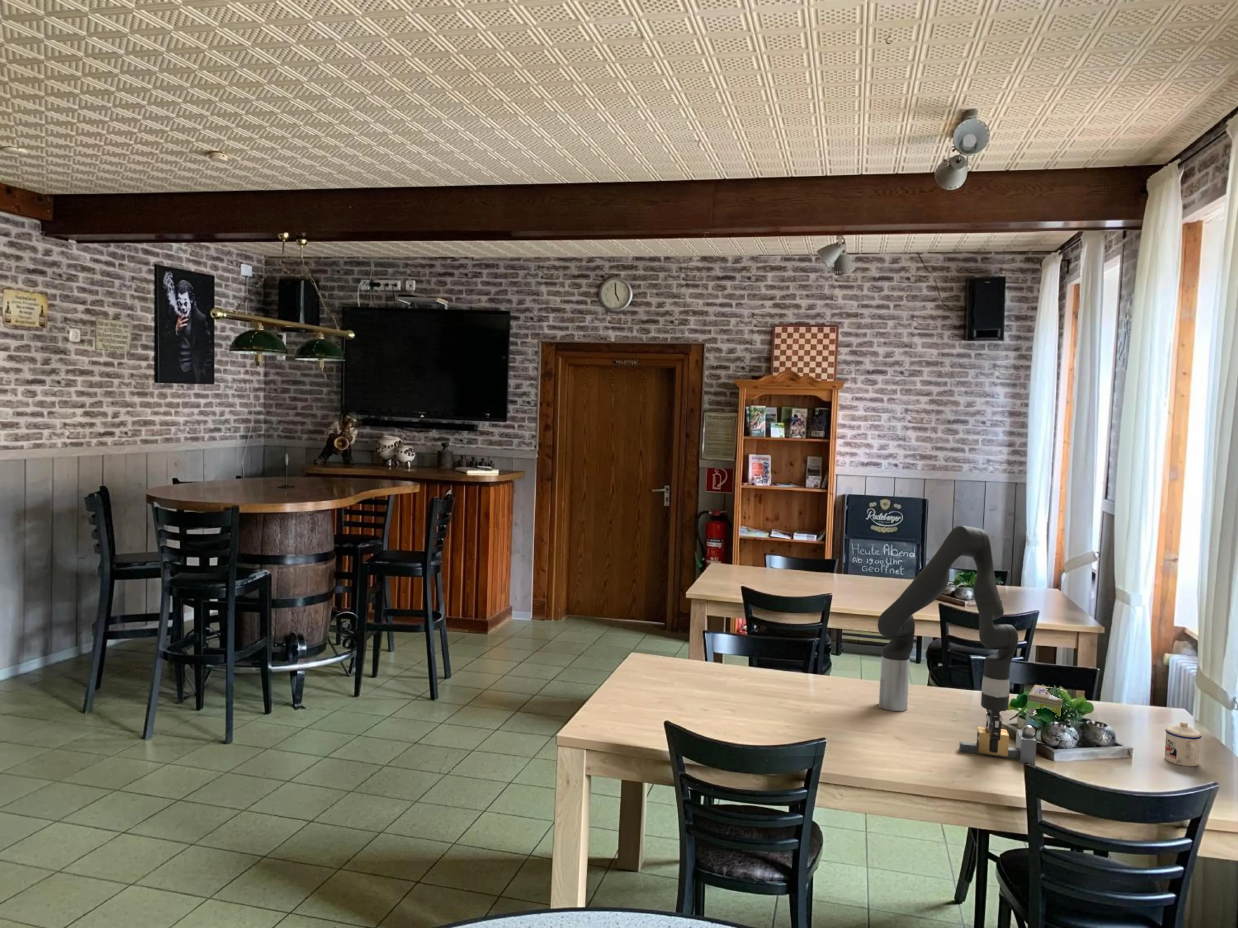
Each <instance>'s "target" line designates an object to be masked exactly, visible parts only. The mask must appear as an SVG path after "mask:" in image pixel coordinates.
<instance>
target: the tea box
mask: <svg viewBox="0 0 1238 928" xmlns="http://www.w3.org/2000/svg"><path fill="white" fill-rule="evenodd" d="M1046 688H1052V687H1050V686H1044V685H1040V684H1034V685H1033V687H1032V688H1031V690H1030V691H1029V692H1028V694H1027V703H1026V713H1025V714H1026V715H1025V724H1024V726H1026V725H1030V726H1032V727H1033V728H1034V729H1035V732H1036V731H1037V730H1038V724H1037V723H1036V722H1035V721H1034V720H1033V719H1031V718H1030V717H1029V716H1031V715H1033V714H1034V713H1033V712H1034V711H1035V709H1040V708H1041V709H1043V708H1047V709H1049V710H1051V711H1052V712H1054V713H1057V714H1058V716H1059V717H1060V716H1061V708H1062V700H1063V699H1061V698H1057V697H1055V696H1053V695H1051V694H1050V693H1049V692H1048V691H1047V690H1048V689H1046ZM1059 689H1060V690H1063V691H1064V692H1066V693H1069V692H1068V690H1067V689H1061V688H1059ZM1057 714H1056V715H1057Z"/></svg>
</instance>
